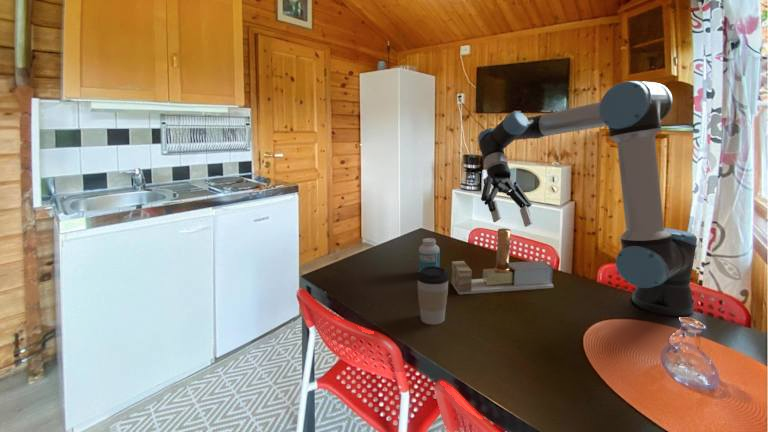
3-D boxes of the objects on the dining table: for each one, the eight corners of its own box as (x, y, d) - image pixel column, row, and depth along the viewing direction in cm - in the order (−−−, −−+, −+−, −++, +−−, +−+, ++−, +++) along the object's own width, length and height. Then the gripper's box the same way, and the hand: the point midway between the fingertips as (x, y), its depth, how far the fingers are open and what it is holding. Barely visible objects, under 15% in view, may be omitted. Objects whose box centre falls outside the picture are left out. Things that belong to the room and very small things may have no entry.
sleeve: (551, 286, 137) (553, 267, 135) (514, 289, 136) (515, 269, 134) (542, 278, 143) (543, 260, 142) (506, 281, 142) (507, 262, 140)
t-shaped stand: (544, 281, 137) (548, 229, 133) (487, 285, 135) (489, 233, 131) (538, 276, 142) (541, 225, 138) (482, 279, 140) (483, 229, 136)
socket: (471, 291, 133) (471, 270, 131) (459, 292, 132) (459, 271, 131) (463, 280, 141) (463, 260, 140) (451, 281, 141) (452, 261, 139)
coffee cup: (412, 323, 115) (412, 273, 111) (421, 309, 123) (421, 262, 119) (444, 328, 112) (445, 277, 108) (451, 313, 120) (452, 265, 116)
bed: (553, 287, 136) (553, 285, 135) (459, 294, 133) (459, 291, 132) (540, 277, 144) (540, 274, 144) (451, 283, 141) (451, 280, 141)
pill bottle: (428, 270, 154) (428, 235, 151) (443, 275, 148) (444, 239, 145) (414, 275, 149) (414, 239, 146) (429, 281, 144) (429, 244, 141)
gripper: (516, 180, 152) (532, 231, 142) (462, 168, 140) (475, 223, 131) (531, 168, 146) (549, 221, 136) (475, 156, 135) (491, 212, 125)
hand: (513, 222), depth 133 cm, fingers open, 13 cm apart
